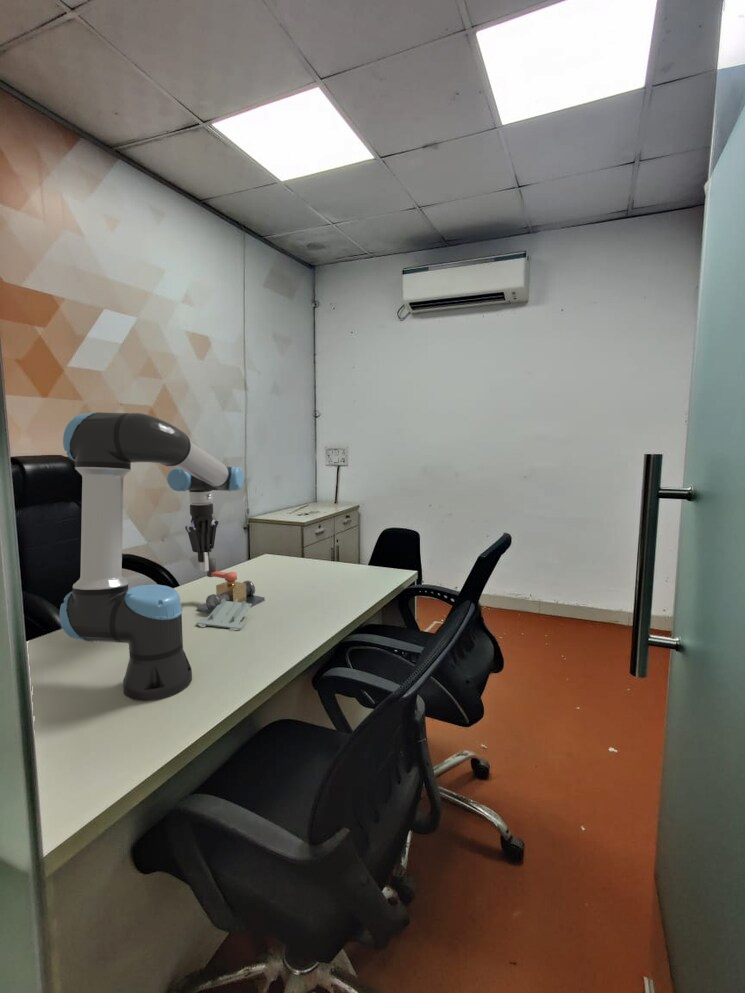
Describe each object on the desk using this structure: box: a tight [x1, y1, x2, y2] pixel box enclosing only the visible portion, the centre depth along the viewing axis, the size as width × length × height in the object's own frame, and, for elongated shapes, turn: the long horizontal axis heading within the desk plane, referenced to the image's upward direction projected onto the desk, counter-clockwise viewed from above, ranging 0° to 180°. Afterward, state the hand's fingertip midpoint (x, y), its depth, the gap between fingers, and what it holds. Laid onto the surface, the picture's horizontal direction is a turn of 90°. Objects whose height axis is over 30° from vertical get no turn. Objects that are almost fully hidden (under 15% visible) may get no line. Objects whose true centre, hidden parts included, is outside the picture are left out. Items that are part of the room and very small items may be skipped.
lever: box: [206, 557, 238, 582], centre depth 168 cm, size 12×4×6 cm, turn 63°
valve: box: [196, 580, 266, 614], centre depth 167 cm, size 18×14×9 cm
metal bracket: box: [196, 599, 252, 632], centre depth 154 cm, size 14×6×15 cm
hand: (204, 570), depth 167 cm, fingers closed
